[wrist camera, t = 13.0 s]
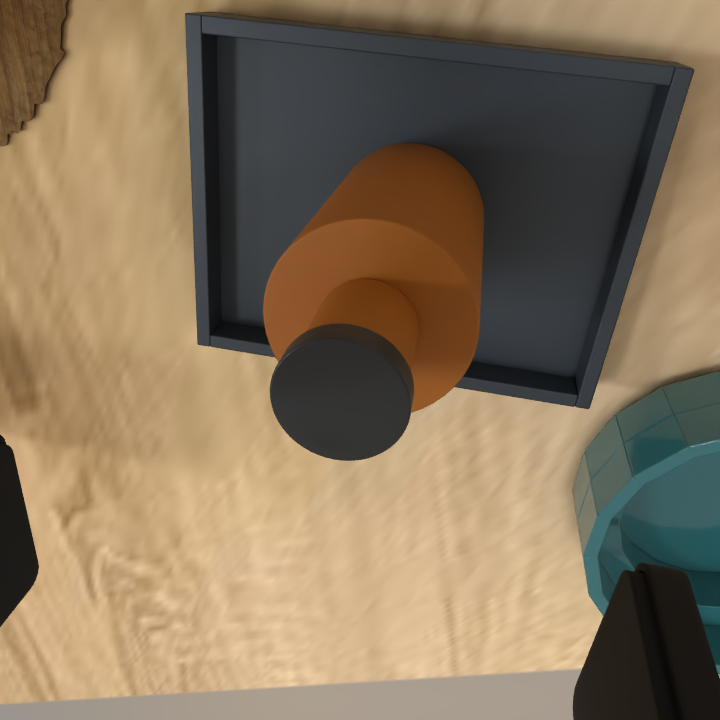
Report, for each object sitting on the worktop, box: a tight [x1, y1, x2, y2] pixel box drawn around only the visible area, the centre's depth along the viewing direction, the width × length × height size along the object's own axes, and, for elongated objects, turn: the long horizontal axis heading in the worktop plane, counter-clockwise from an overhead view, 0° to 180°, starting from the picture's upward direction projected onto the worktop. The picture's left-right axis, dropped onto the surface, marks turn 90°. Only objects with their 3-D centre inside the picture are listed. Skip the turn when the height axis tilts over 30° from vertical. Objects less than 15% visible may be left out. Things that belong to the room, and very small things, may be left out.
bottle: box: [263, 143, 484, 461], centre depth 21 cm, size 6×6×14 cm
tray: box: [185, 12, 694, 409], centre depth 26 cm, size 17×13×2 cm
